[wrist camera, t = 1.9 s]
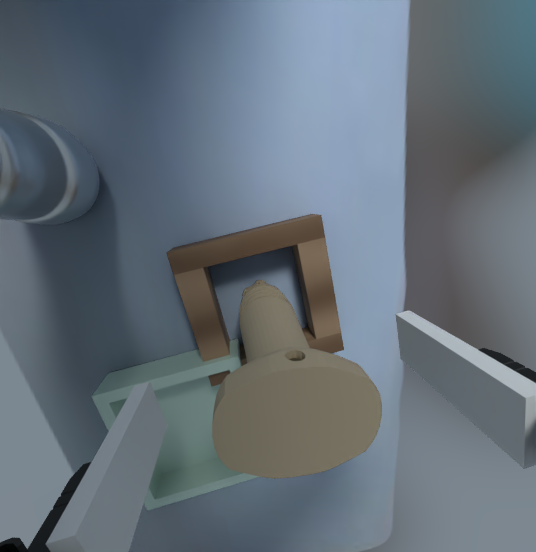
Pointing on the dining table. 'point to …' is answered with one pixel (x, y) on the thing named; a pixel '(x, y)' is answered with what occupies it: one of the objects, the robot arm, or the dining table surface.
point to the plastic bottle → (43, 171)
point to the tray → (178, 422)
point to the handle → (290, 398)
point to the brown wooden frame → (295, 232)
